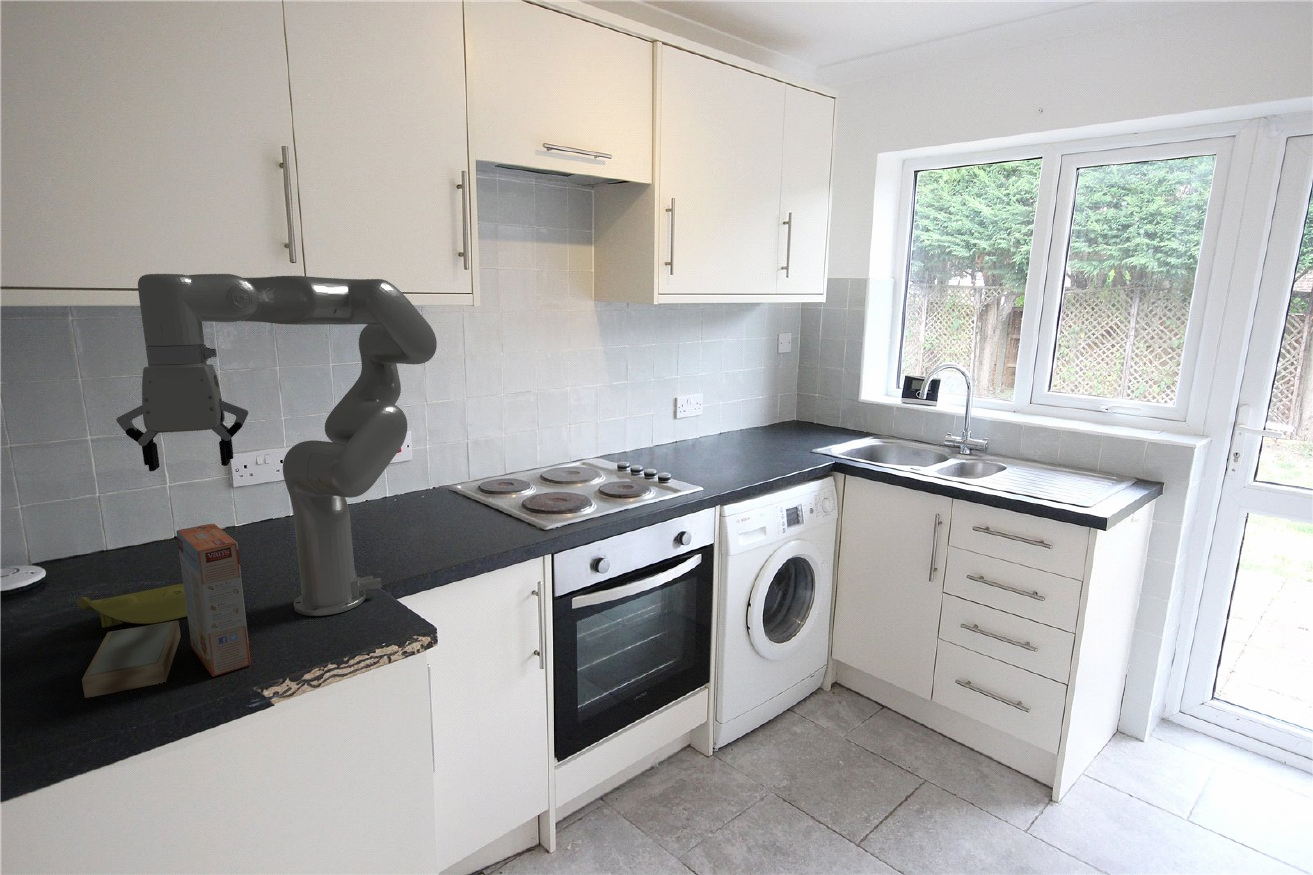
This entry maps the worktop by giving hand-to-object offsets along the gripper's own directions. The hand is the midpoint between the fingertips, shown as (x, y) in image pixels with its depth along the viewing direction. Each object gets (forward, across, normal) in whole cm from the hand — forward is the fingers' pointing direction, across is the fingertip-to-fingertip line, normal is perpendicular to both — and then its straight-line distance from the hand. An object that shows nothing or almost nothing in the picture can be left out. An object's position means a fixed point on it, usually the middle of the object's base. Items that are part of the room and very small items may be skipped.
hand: (190, 466), depth 114 cm
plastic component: (+32, +14, -22) cm, 41 cm away
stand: (+32, +11, -1) cm, 34 cm away
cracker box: (+32, -1, +1) cm, 32 cm away
